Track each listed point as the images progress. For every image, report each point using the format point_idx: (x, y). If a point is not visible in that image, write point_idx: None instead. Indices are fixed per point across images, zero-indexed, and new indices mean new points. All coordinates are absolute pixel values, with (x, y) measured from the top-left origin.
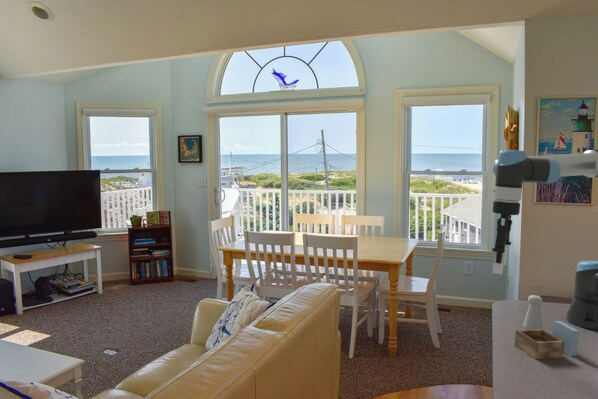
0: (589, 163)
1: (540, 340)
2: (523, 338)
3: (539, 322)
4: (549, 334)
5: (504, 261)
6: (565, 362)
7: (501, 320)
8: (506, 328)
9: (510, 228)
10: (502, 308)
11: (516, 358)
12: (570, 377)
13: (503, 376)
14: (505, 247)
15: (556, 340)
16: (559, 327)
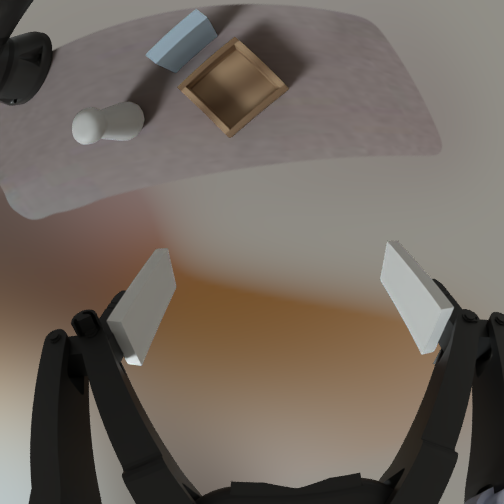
0: None
1: (200, 88)
2: (253, 117)
3: (126, 106)
4: (205, 68)
5: (163, 268)
6: (261, 41)
7: (105, 189)
8: (142, 169)
9: (190, 497)
10: (49, 205)
11: (306, 125)
12: (332, 38)
13: (397, 146)
14: (132, 324)
15: (225, 53)
16: (174, 51)
